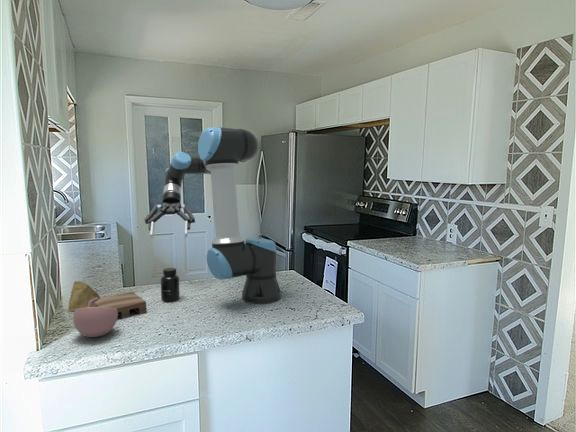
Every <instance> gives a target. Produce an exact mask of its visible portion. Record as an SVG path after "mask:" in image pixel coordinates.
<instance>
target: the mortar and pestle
mask: <svg viewBox="0 0 576 432" xmlns="http://www.w3.org/2000/svg"><path fill="white" fill-rule="evenodd" d="M97 300H98V297H96V298H94V299H93V300H90V301H89V303H88V307H84V308H78V309H76V310H75V311H73V317H72V321H73V325H74V327H75V329H76V331H77V332H78V333H79V334H81V335H82V336H84V337H88V338H98V337H102V336H104V335H106V334H109V332H110V331H111V330H112V329H113V328H114V327H115V325H116V324H117V321H118V317H119V315H118V310H117V309H115V308H109V307H92V304H93V303H94V302H96V301H97Z"/></svg>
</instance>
